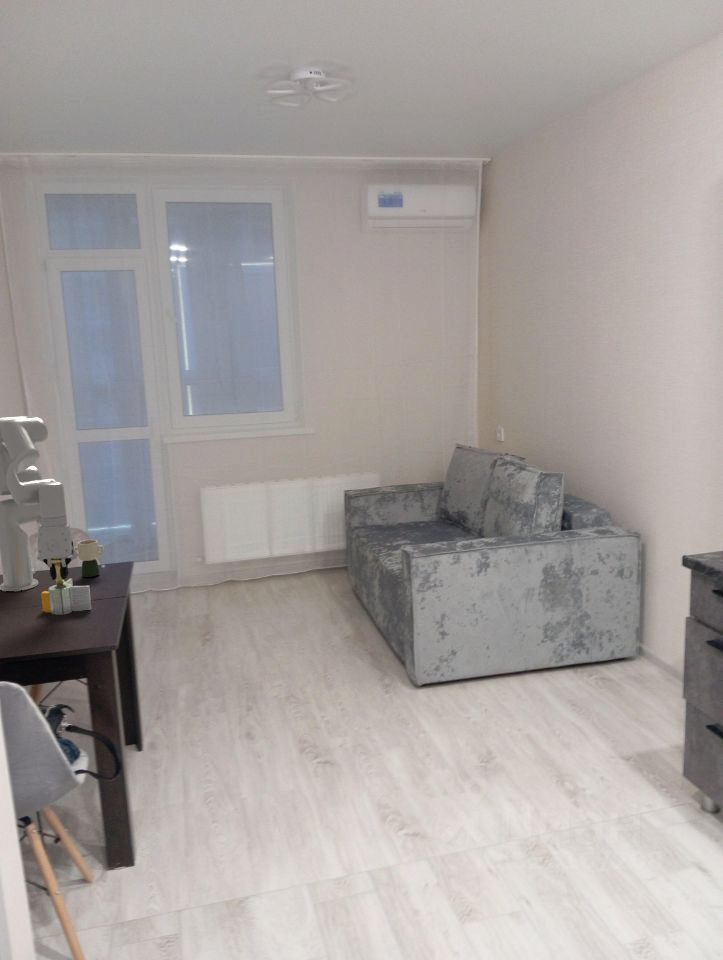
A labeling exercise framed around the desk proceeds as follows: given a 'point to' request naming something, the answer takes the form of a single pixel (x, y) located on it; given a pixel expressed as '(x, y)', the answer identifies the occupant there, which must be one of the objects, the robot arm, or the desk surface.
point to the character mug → (89, 556)
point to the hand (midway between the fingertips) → (59, 577)
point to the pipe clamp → (46, 601)
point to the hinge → (69, 598)
